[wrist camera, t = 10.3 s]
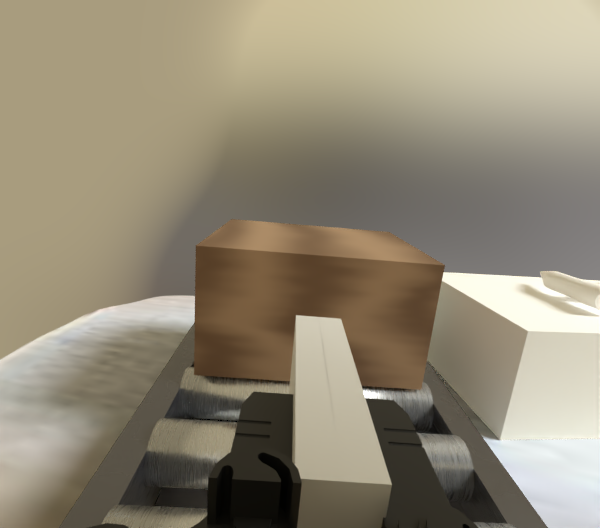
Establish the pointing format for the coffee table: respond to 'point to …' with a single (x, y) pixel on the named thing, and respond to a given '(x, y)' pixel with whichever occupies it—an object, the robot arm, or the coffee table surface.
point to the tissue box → (522, 352)
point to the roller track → (219, 438)
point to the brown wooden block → (312, 300)
